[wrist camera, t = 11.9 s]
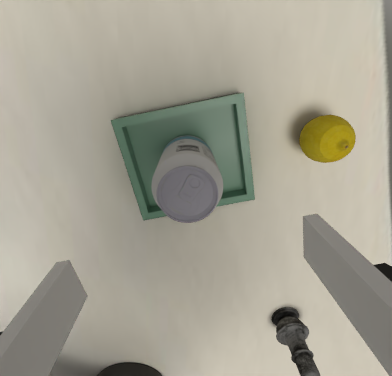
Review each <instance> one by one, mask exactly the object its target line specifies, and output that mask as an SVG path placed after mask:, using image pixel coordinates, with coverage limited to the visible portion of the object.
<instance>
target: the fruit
mask: <svg viewBox="0 0 392 376" xmlns="http://www.w3.org/2000/svg"><path fill="white" fill-rule="evenodd" d="M299 141H300V147H301V149H302V151H303V152H304V154H305V155H306V156H307V157H308V158H310V159H312V160H314V161H318V162H325V163H327V162H334V161H337V160H340V159H342V158H344V157H345V156H346V155H348V154H349V153H350V152H351V150H352V149H353V147H354V144H355V132H354V129H353V128H352V127H351V125H350V124H349V123H348V122H347V121H346V120H344V119H343V118H341V117H338V116H334V115H325V116H319V117H317V118H315V119H312V120H311V121H310V122H308V123H307V124H306V125H305V126H304V128H303V129H302V131H301V134H300V138H299Z"/></svg>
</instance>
